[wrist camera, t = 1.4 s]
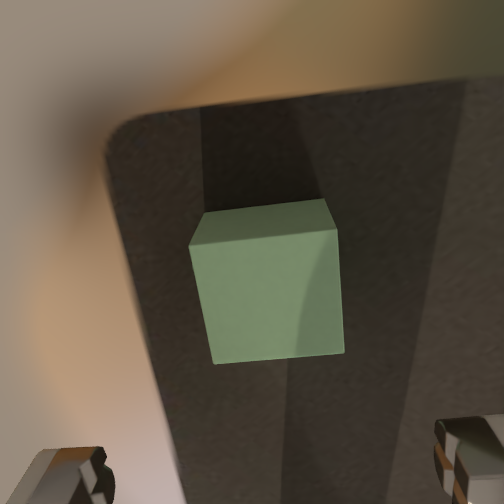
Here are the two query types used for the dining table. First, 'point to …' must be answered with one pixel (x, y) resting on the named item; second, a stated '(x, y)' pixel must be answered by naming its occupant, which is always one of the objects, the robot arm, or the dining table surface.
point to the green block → (269, 281)
